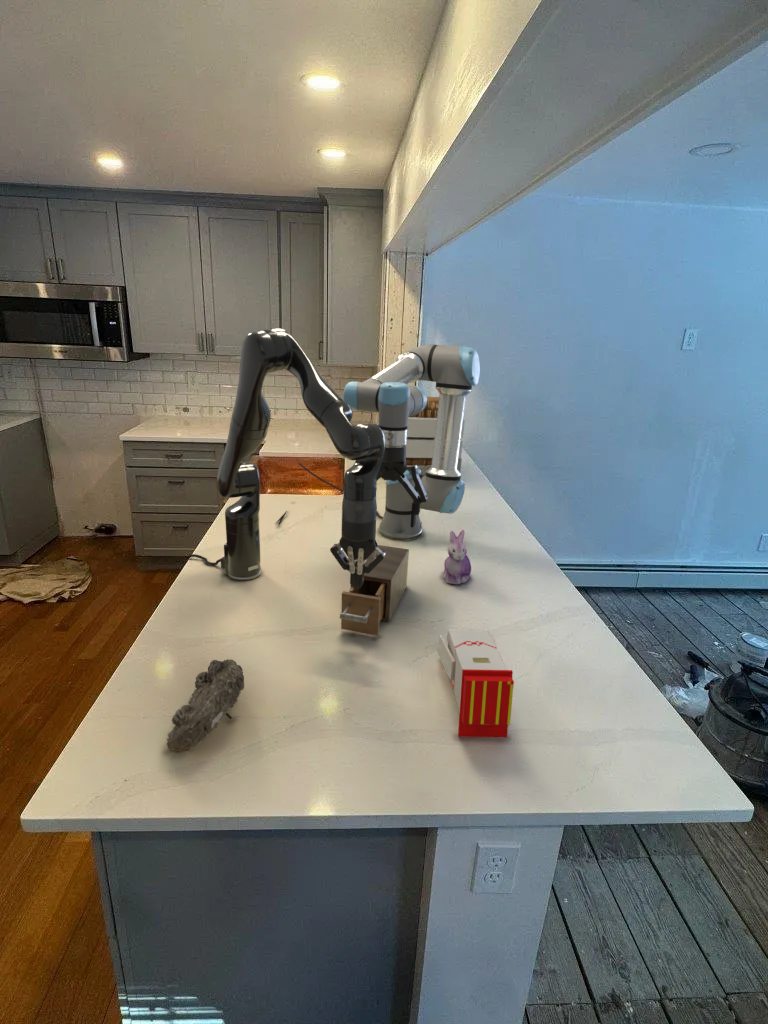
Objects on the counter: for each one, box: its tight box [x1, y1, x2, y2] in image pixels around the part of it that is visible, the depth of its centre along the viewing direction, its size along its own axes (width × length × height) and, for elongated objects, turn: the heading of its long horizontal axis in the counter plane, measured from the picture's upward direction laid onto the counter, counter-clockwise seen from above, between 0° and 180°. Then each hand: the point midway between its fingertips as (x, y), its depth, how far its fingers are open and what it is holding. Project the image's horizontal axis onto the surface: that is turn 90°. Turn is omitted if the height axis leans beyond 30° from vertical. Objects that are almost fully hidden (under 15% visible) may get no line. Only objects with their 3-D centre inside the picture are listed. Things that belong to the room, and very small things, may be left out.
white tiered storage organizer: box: [405, 396, 465, 475], centre depth 268 cm, size 34×33×41 cm
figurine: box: [442, 529, 472, 585], centre depth 166 cm, size 9×10×15 cm
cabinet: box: [350, 544, 410, 623], centre depth 152 cm, size 20×10×12 cm, turn 165°
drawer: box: [339, 580, 387, 636], centre depth 141 cm, size 24×9×10 cm, turn 165°
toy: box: [437, 628, 515, 738], centre depth 117 cm, size 12×13×30 cm
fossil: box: [166, 658, 245, 754], centre depth 106 cm, size 22×10×15 cm
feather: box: [274, 510, 288, 528], centre depth 213 cm, size 2×28×2 cm
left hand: (357, 587), depth 129 cm, fingers closed
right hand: (388, 522), depth 152 cm, fingers open, 13 cm apart
